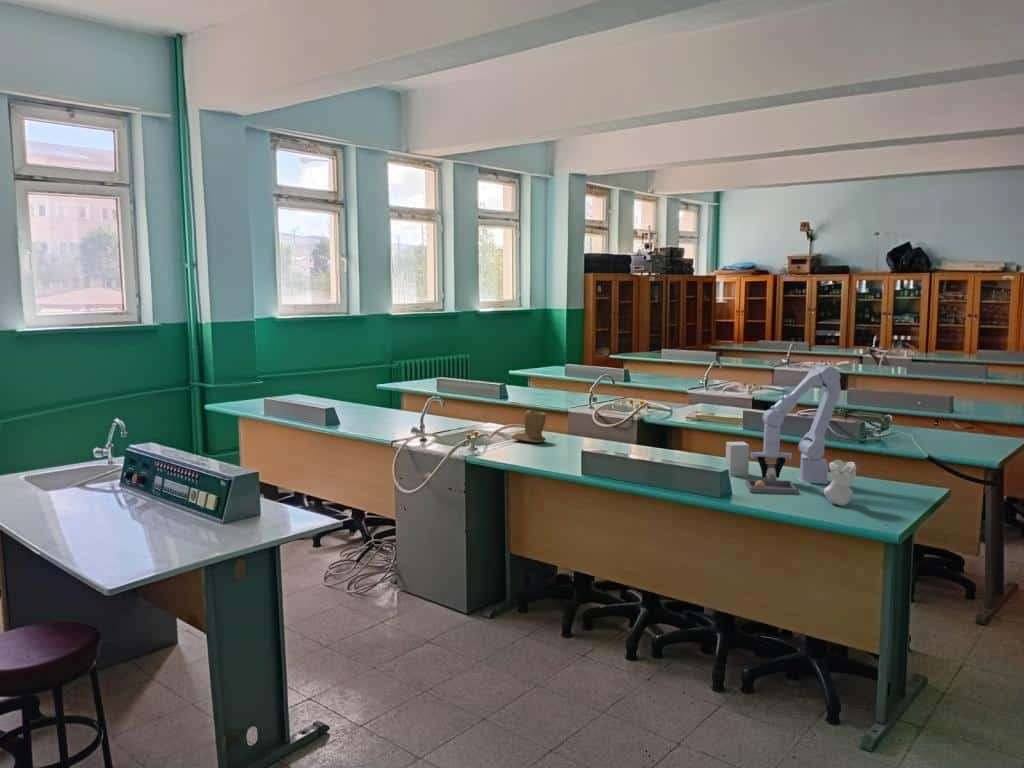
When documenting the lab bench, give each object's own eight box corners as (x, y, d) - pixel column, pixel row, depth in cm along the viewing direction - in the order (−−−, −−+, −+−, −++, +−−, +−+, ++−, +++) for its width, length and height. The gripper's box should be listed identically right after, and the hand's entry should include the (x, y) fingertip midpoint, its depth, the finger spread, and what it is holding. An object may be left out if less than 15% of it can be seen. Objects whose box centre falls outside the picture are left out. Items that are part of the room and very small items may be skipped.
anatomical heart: (847, 500, 272) (849, 457, 270) (862, 509, 261) (864, 465, 259) (819, 500, 272) (821, 458, 270) (833, 510, 260) (835, 466, 259)
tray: (790, 486, 290) (790, 480, 290) (796, 495, 279) (797, 489, 278) (745, 485, 293) (745, 479, 293) (750, 494, 281) (750, 488, 281)
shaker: (775, 480, 299) (776, 462, 298) (777, 483, 295) (778, 465, 294) (762, 480, 300) (763, 462, 299) (765, 483, 295) (765, 464, 294)
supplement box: (748, 477, 305) (749, 445, 303) (729, 477, 305) (730, 445, 303) (743, 472, 312) (744, 441, 311) (724, 472, 312) (725, 441, 311)
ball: (764, 488, 286) (764, 479, 285) (765, 491, 282) (766, 482, 282) (754, 488, 286) (754, 479, 286) (755, 491, 283) (755, 481, 282)
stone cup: (551, 441, 377) (551, 410, 375) (536, 445, 367) (536, 413, 365) (525, 437, 386) (525, 407, 384) (511, 441, 376) (510, 410, 374)
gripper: (753, 443, 292) (752, 479, 294) (794, 444, 290) (792, 480, 292) (750, 439, 299) (749, 474, 301) (790, 440, 297) (788, 475, 299)
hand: (770, 477), depth 297 cm, fingers closed on shaker, 4 cm apart
